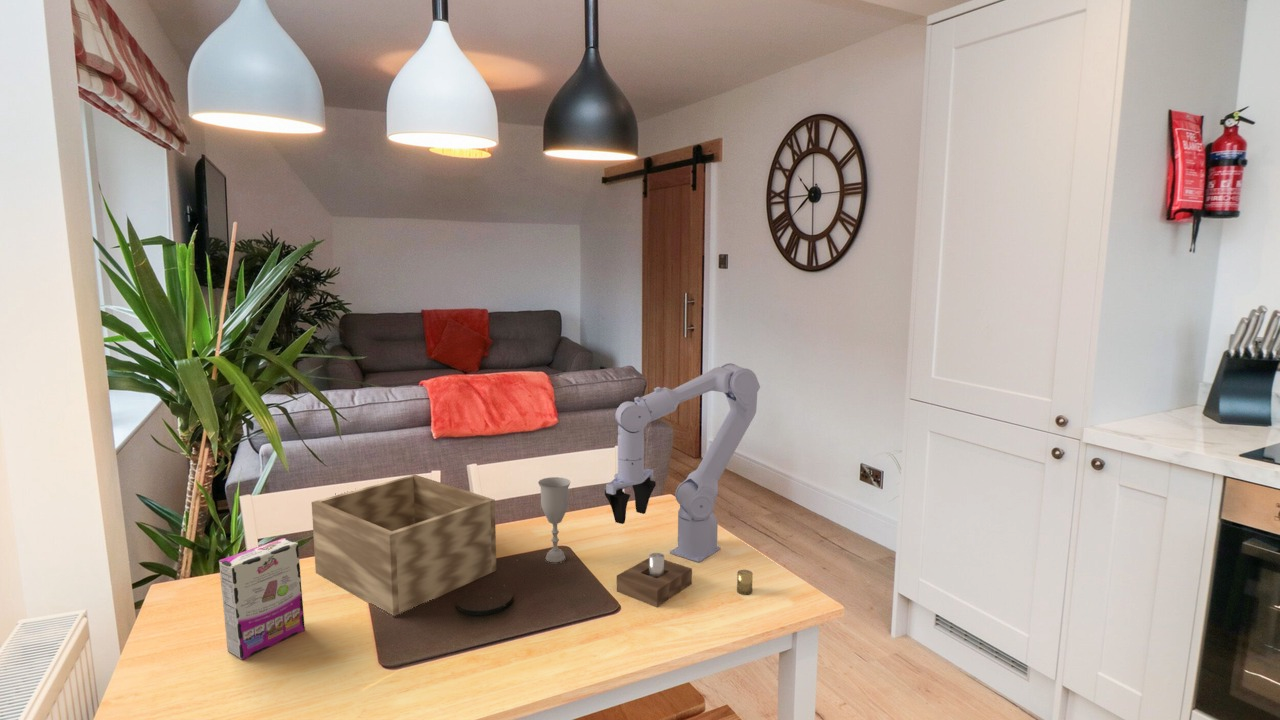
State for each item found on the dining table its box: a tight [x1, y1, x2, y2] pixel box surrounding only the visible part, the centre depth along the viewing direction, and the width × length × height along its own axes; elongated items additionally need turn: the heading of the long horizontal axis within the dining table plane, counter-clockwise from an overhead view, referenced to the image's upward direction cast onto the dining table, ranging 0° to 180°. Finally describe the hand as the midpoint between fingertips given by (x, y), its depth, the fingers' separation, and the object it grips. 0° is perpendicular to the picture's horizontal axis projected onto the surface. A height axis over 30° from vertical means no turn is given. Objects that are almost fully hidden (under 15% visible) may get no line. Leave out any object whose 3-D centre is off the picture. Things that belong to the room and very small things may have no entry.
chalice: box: [537, 476, 572, 562], centre depth 147 cm, size 7×7×18 cm
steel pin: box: [648, 552, 665, 578], centre depth 135 cm, size 3×3×7 cm
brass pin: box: [736, 569, 754, 596], centre depth 134 cm, size 3×3×4 cm
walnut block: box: [616, 557, 693, 608], centre depth 135 cm, size 12×10×4 cm
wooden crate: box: [311, 474, 497, 615], centre depth 140 cm, size 24×28×16 cm
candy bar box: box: [218, 537, 306, 660], centre depth 114 cm, size 11×5×16 cm, turn 148°
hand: (630, 517), depth 147 cm, fingers open, 7 cm apart
